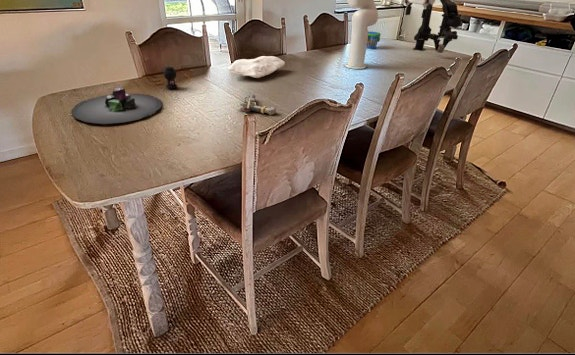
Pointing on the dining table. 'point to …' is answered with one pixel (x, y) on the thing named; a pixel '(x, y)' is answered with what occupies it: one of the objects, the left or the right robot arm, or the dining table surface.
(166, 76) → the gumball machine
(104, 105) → the grey flat disc
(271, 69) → the crumpled cloth
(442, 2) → the right robot arm
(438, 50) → the canister
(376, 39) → the snack cup
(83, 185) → the dining table surface
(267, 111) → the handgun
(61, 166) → the dining table surface
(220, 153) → the dining table surface
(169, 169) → the dining table surface
